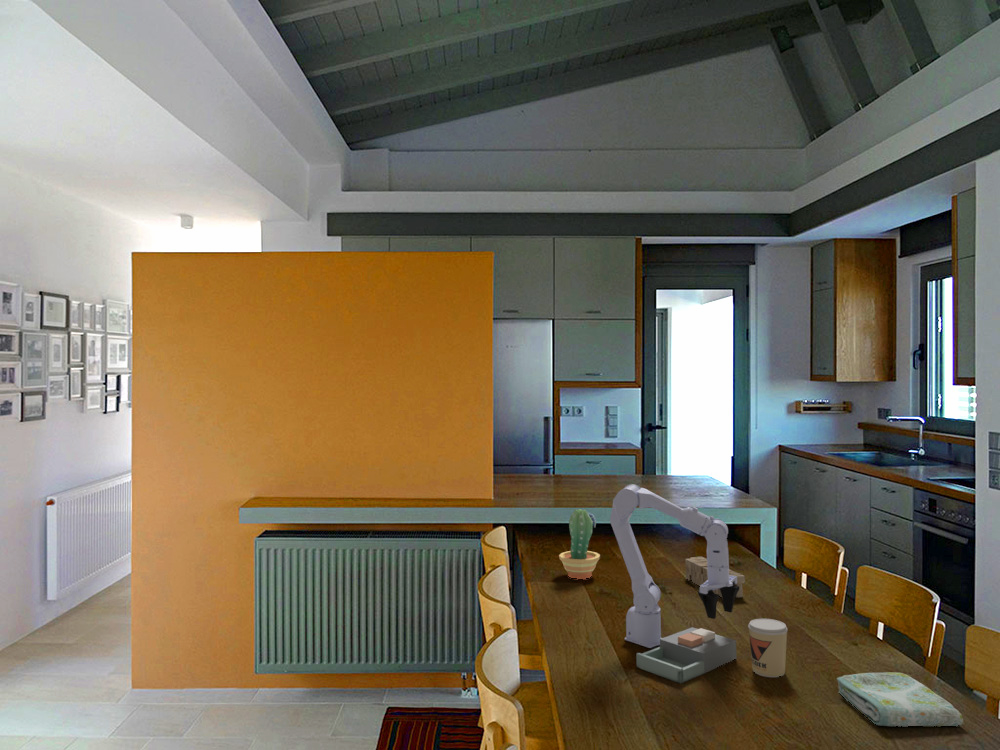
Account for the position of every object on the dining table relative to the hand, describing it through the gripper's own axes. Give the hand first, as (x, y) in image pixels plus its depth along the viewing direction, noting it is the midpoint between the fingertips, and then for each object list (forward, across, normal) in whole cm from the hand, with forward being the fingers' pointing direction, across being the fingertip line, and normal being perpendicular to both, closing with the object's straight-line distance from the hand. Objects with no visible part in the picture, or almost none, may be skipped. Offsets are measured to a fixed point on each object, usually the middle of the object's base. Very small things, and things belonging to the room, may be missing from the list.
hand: (719, 614), depth 208 cm
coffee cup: (+10, -4, -17) cm, 20 cm away
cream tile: (+4, -8, 0) cm, 9 cm away
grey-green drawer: (+9, -22, 0) cm, 24 cm away
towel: (+11, -2, -47) cm, 48 cm away
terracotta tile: (+4, -13, 0) cm, 14 cm away
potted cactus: (+9, +25, +79) cm, 84 cm away
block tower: (+10, +48, +37) cm, 62 cm away
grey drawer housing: (+9, -10, 0) cm, 14 cm away
